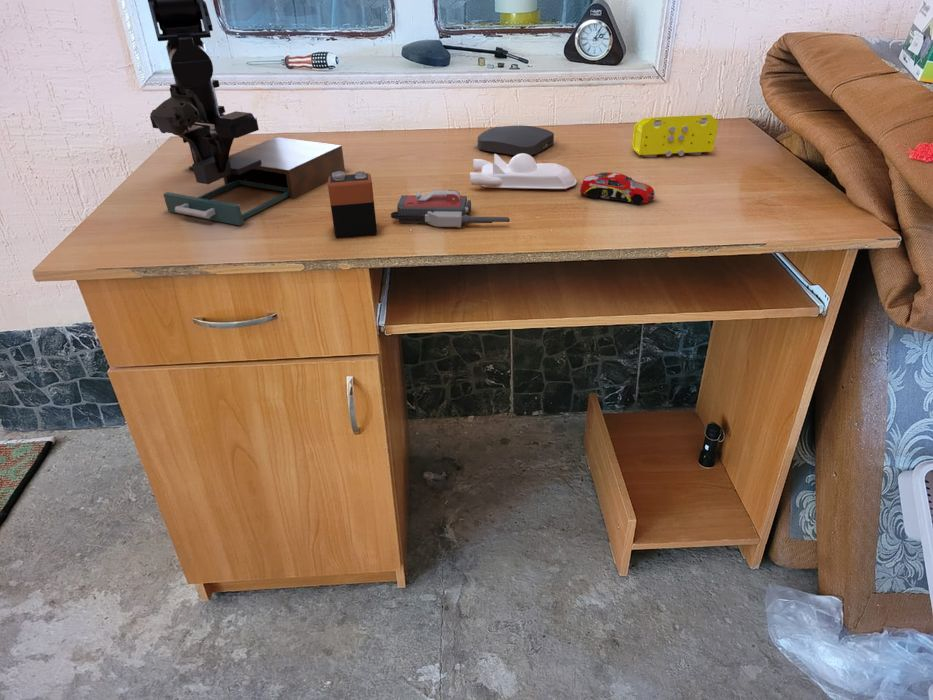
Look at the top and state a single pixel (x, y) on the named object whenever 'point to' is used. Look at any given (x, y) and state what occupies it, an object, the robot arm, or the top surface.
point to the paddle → (238, 165)
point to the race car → (616, 188)
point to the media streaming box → (515, 139)
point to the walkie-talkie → (439, 210)
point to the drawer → (220, 203)
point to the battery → (352, 204)
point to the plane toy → (521, 174)
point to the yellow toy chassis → (675, 135)
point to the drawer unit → (293, 162)
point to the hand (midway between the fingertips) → (215, 171)
